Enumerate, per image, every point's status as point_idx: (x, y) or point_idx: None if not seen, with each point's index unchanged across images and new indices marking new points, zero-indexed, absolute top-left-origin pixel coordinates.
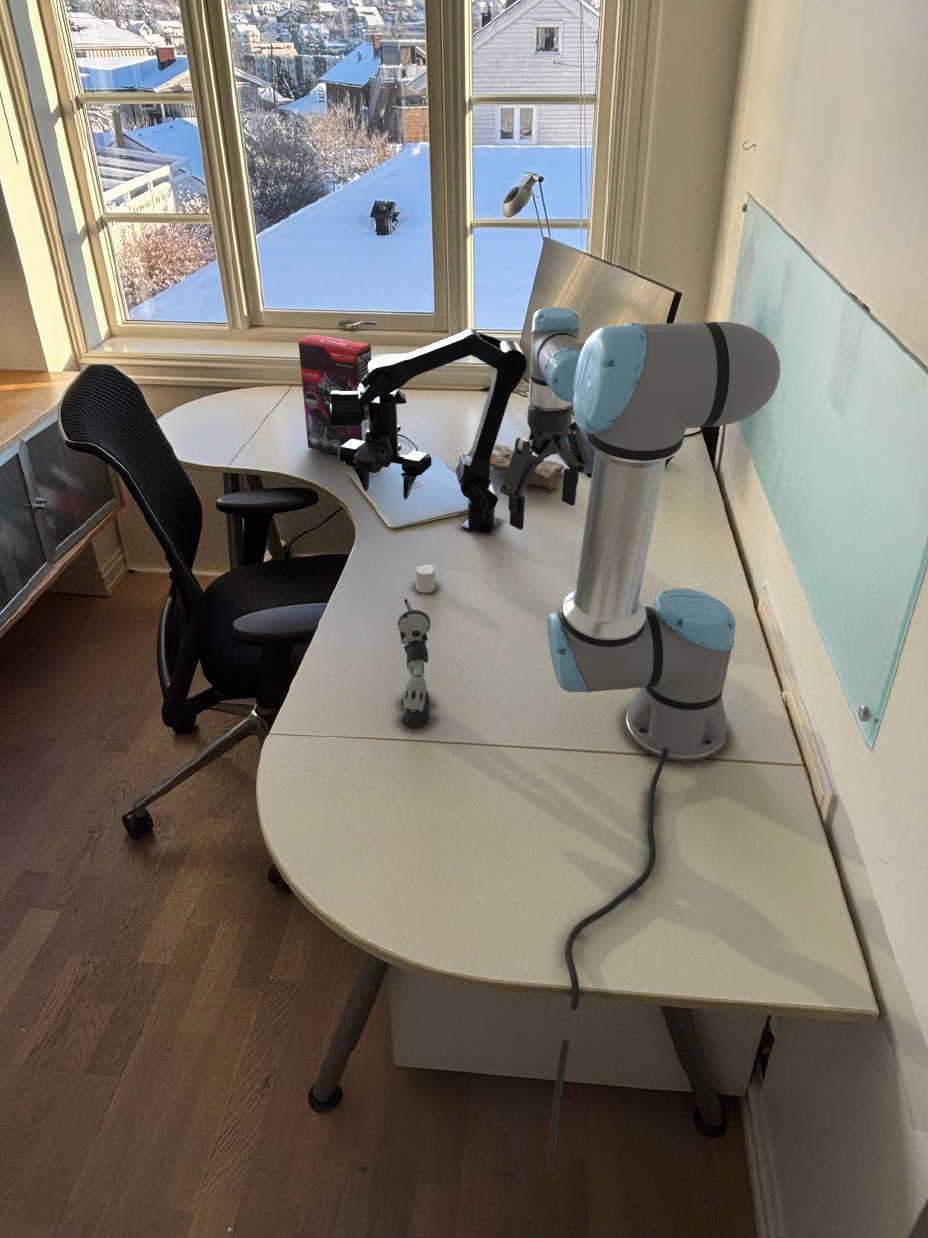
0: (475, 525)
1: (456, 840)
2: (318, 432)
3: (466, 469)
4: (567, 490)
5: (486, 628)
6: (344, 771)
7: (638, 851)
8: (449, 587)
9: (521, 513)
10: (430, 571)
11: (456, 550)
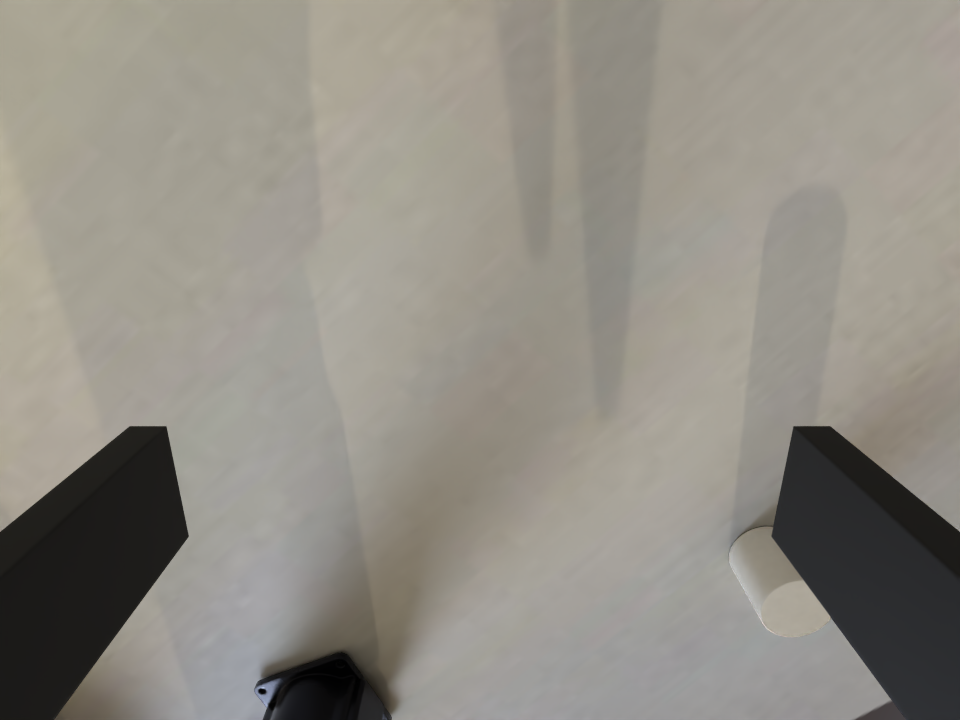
0: (370, 704)
1: None
2: None
3: None
4: (107, 570)
5: (844, 231)
6: None
7: None
8: (704, 508)
9: (943, 521)
10: (798, 588)
11: (505, 644)
